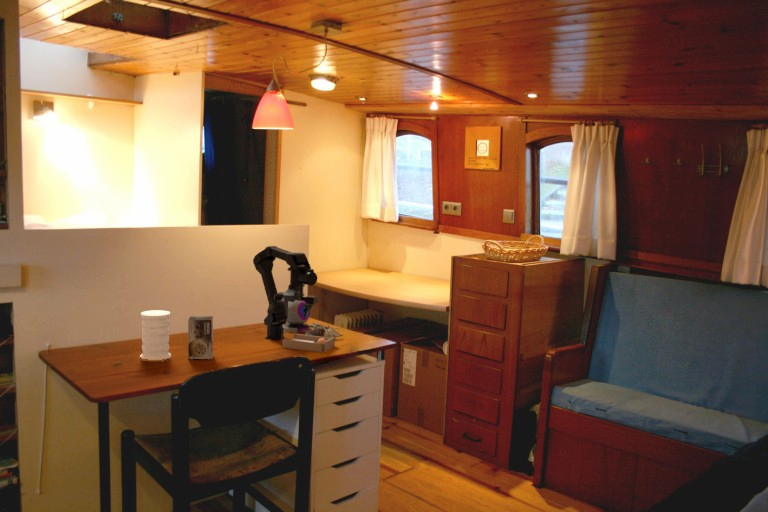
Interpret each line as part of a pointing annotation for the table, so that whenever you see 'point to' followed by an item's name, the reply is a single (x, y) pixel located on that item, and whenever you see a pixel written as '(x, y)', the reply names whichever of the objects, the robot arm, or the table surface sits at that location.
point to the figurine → (322, 331)
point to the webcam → (296, 317)
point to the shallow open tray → (308, 343)
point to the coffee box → (200, 337)
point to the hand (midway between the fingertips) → (295, 317)
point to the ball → (321, 340)
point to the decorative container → (155, 335)
